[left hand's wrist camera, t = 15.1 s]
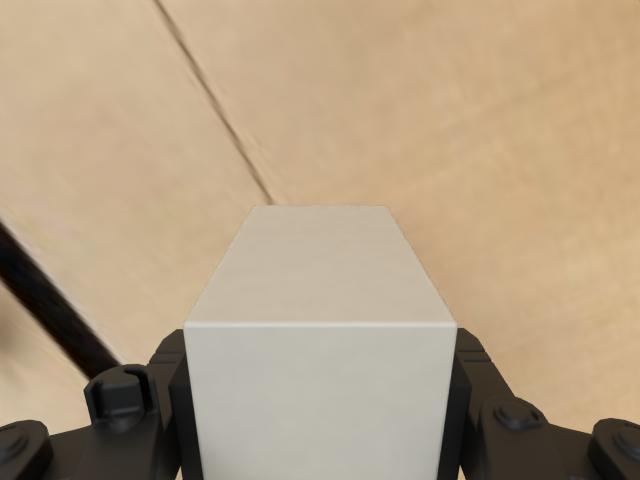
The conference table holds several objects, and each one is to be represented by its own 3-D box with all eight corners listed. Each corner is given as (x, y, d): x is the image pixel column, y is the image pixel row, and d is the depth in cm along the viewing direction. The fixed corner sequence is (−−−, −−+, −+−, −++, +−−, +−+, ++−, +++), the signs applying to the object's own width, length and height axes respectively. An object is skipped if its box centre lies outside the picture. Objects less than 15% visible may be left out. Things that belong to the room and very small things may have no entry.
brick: (261, 354, 16) (213, 569, 9) (252, 204, 14) (179, 323, 7) (378, 355, 16) (426, 569, 9) (387, 204, 14) (460, 323, 7)
